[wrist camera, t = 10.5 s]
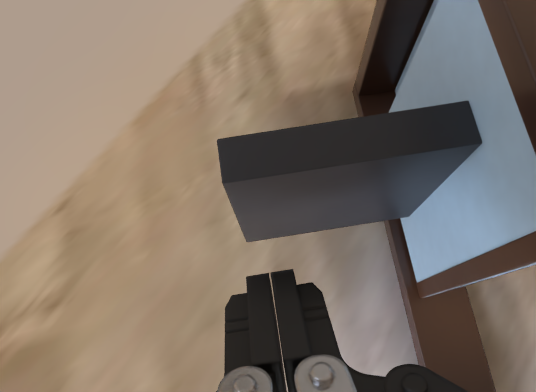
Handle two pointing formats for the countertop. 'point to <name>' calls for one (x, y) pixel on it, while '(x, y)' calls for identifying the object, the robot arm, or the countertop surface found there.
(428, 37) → the window pane
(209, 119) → the countertop surface
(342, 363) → the robot arm
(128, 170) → the countertop surface
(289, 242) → the countertop surface
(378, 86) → the window frame
